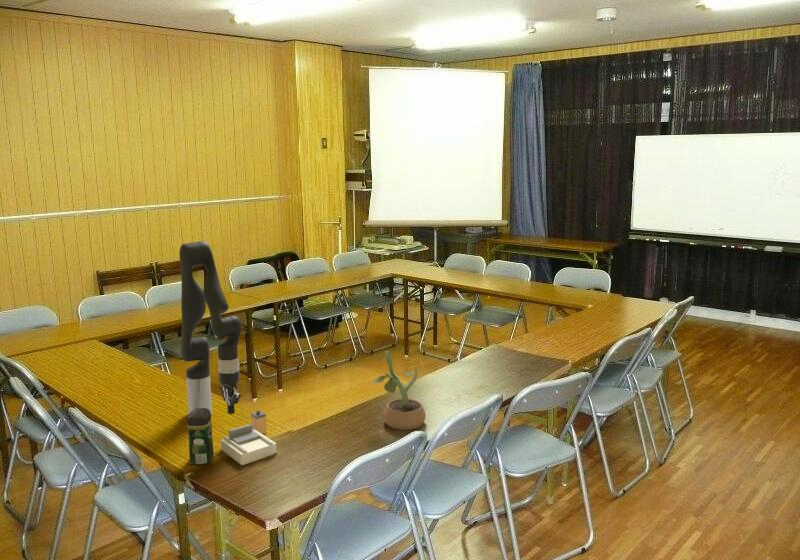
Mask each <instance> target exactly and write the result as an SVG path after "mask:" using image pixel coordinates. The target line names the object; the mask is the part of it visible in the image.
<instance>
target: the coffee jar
mask: <svg viewBox="0 0 800 560" xmlns="http://www.w3.org/2000/svg"><path fill="white" fill-rule="evenodd" d="M186 426H187V434H188V435H187V436H188V452H189V453H188V454H189V462H190V464H192V465H195V466H202V465H206V464H210V463H211V461H212V460H213V458H214V444H213V443H214V441H213V426H212V415H211V412H210V410H208V409H207V408H195V409H194V410H193V411H191V412H190V413H189V412H188V414H187V417H186Z"/></svg>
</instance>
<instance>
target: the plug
mask: <svg viewBox="0 0 800 560" xmlns="http://www.w3.org/2000/svg"><path fill="white" fill-rule="evenodd" d="M250 416H251V418H250V419H251V424H252V429H253V430H254V429H255V430H256V431H258V432H260V433H261V434H262V433H266V434H267V413H265V412H264V411H262V410H259V409H258V410H256V411H255V412H251V415H250Z"/></svg>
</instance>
